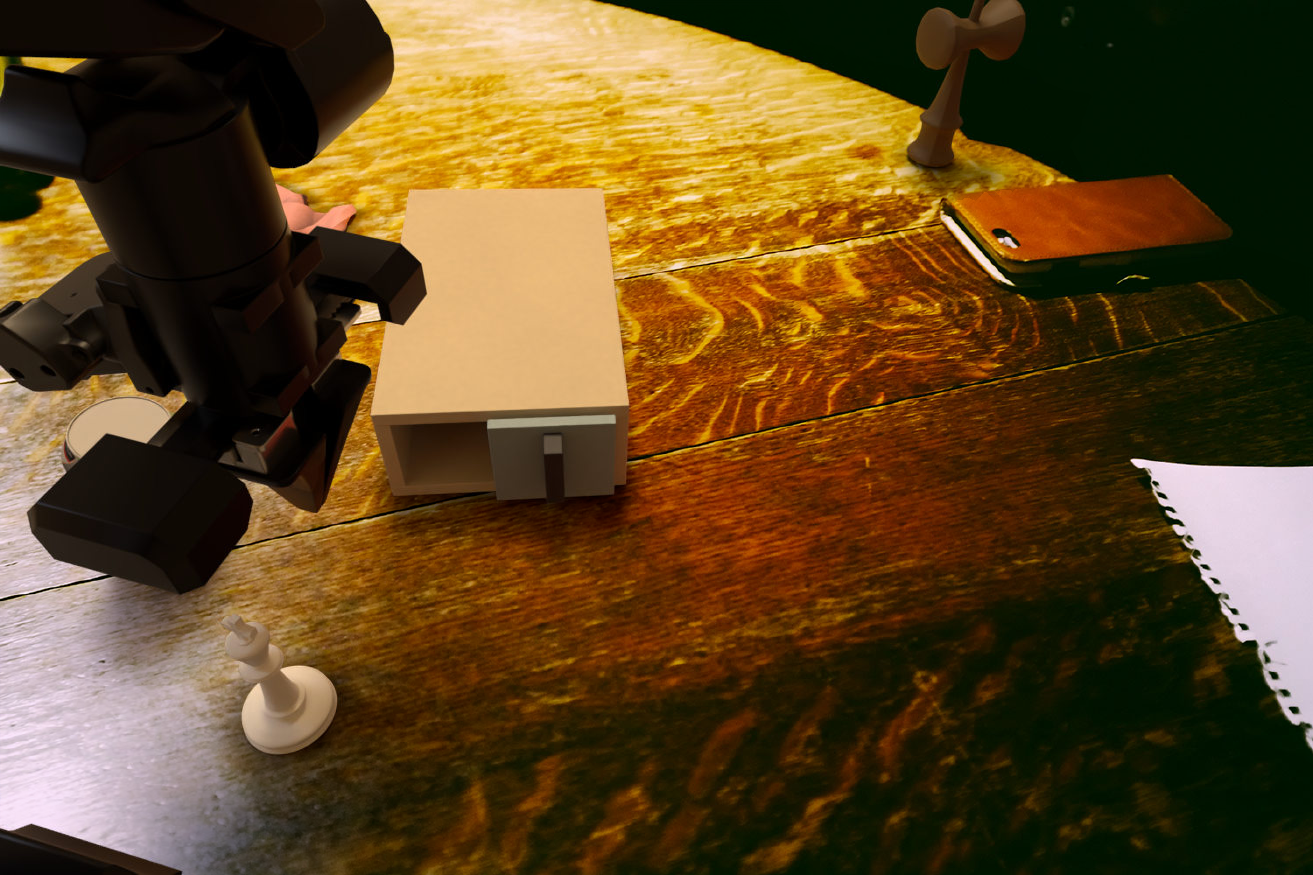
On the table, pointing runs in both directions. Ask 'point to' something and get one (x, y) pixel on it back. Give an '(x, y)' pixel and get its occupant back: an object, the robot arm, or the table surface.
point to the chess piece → (278, 692)
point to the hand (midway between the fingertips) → (312, 505)
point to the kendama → (959, 66)
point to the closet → (498, 331)
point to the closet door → (553, 457)
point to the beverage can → (112, 424)
